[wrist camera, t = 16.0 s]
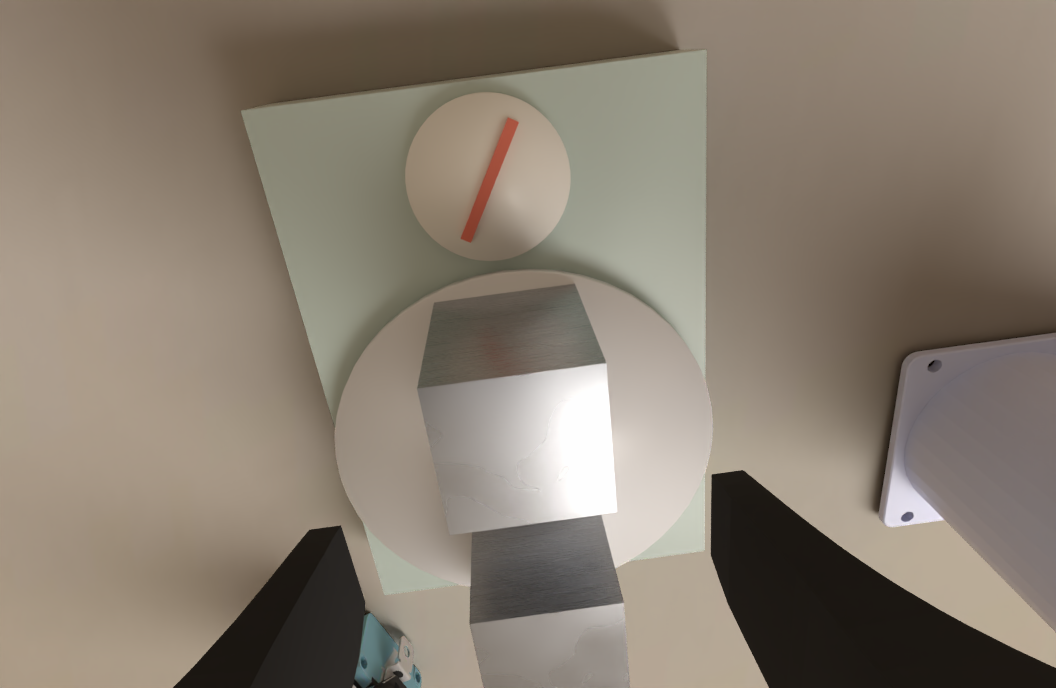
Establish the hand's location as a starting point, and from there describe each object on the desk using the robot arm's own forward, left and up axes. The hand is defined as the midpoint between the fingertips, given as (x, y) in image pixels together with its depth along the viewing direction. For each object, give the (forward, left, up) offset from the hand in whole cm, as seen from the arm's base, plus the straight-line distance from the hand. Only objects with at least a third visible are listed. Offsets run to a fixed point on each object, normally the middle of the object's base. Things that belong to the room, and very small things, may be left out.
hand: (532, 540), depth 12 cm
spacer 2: (0, +6, -7) cm, 10 cm away
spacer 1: (0, 0, -7) cm, 7 cm away
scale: (0, 0, -10) cm, 10 cm away
